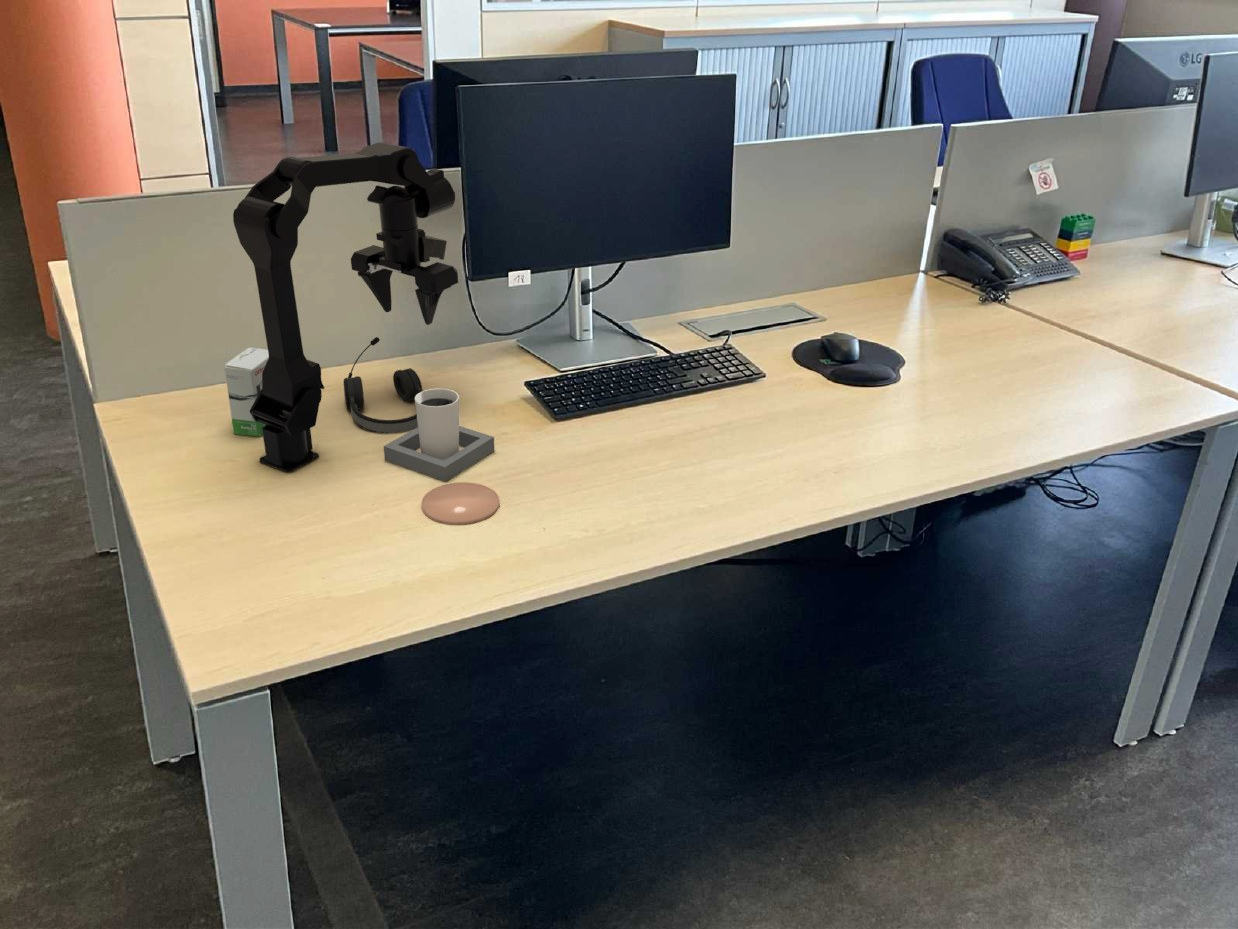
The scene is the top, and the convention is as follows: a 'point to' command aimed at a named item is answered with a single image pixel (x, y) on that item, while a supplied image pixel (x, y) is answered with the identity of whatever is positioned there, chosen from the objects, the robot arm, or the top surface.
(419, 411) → the grey cup
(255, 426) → the ink box
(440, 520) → the coaster
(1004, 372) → the top surface
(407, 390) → the headset
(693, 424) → the top surface
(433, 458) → the cup holder
